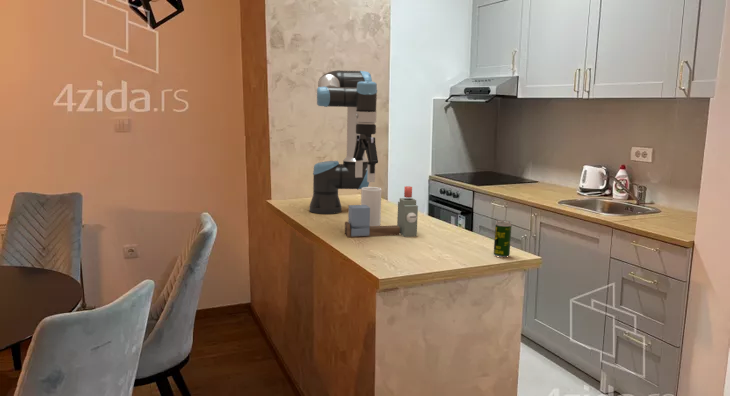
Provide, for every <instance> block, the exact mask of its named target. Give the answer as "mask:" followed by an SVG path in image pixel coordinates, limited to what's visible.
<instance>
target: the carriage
mask: <svg viewBox="0 0 730 396" xmlns="http://www.w3.org/2000/svg"><path fill="white" fill-rule="evenodd" d="M347 222H348V223H349V224H350V228H351V236H357V237H370V236H369V231H370V207H368V206H367V205H361V204H355V205H354V204H349V205H348V219H347Z"/></svg>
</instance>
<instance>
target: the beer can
mask: <svg viewBox="0 0 730 396" xmlns="http://www.w3.org/2000/svg"><path fill="white" fill-rule="evenodd" d="M494 225H495V226H494V240H493V242H494V243H493V255H495V256H499V257H507V256H509V257H510V253H511V241H512V240H511V239H512V236H511V235H512V222H511V221H510V220H504V219H503V220H501V219H500V220H496V221H495V224H494ZM495 256H494V257H495ZM499 257H498V258H499ZM507 258H508V257H507Z"/></svg>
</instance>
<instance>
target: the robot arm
mask: <svg viewBox="0 0 730 396" xmlns="http://www.w3.org/2000/svg"><path fill="white" fill-rule="evenodd" d="M377 85H378V84H377V82H375V81H373V78H372V75H371V73H370V72H369V71H364V70H332V71H328V72H325V73H324V74H322V75H321V76H320V77H319V79H318V82H317V88H316V105H317V106H318V107H325V108H328V107H337V108H339V107H340V108H347V109H346V111H347V113H346V114H347V115H346V117H347V119H346V121H347V122H346V155H345V156H346V157H344V159H343V160H342V161H343V162H342V163H340V161H338V160H327V161H321V162H317V163H315V164H314V165H313V171H312V172H313V173H312V175H313V180H312V181H313V184H312V185H313V187H312V189H313V190H312V191H313V192H312V198H311V200H310V202H309V203H310V204H309V207H308V208H309V212H311V213H314V214H319V215H322V214H323V215H328V214H329V215H331V214H339V213H342V208H343V207H342V204H341V200H340V197H339V190H361V189H362V188H363V187H369V185H370V183H375V182H376V165H377V164H378V163H379V160H378V152H377V146H376V145H377V144H376V137H375V136H374V137H372V135H376V133H377V125H376V123H377V96H378V95H377V94H378V87H377Z"/></svg>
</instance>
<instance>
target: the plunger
mask: <svg viewBox="0 0 730 396" xmlns="http://www.w3.org/2000/svg"><path fill="white" fill-rule="evenodd" d="M403 195H404V196H403V198H413V186H410V185H408V186H407V185H406V186H404V193H403Z"/></svg>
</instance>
